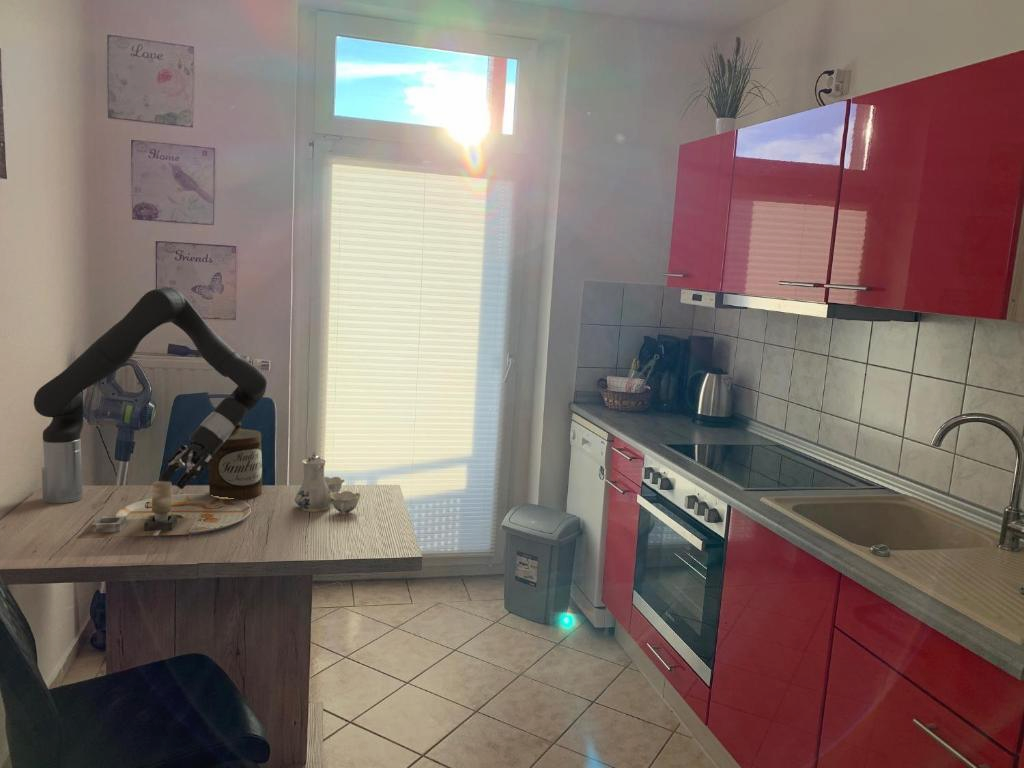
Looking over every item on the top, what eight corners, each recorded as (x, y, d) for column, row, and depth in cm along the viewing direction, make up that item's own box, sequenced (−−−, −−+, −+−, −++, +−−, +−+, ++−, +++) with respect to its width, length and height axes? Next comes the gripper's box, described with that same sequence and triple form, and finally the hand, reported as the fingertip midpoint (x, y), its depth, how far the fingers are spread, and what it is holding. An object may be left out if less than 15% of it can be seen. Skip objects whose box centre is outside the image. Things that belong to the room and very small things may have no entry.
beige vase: (149, 528, 202) (150, 485, 201) (153, 523, 206) (154, 480, 205) (168, 528, 203) (169, 485, 202) (172, 523, 207) (173, 481, 206)
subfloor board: (76, 544, 194) (76, 530, 194) (93, 526, 208) (93, 512, 207) (187, 540, 200) (187, 526, 199) (197, 522, 213) (197, 509, 213)
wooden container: (225, 503, 231) (224, 427, 228) (200, 492, 241) (198, 419, 238) (271, 494, 242) (271, 421, 239) (246, 484, 252) (245, 414, 249)
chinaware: (369, 521, 224) (375, 462, 223) (310, 523, 215) (316, 462, 214) (333, 496, 248) (339, 442, 247) (279, 497, 239) (285, 441, 238)
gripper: (189, 420, 214) (147, 469, 207) (216, 428, 205) (173, 480, 198) (208, 437, 219) (167, 486, 212) (236, 446, 210) (194, 497, 203)
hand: (170, 483), depth 205 cm, fingers open, 8 cm apart
